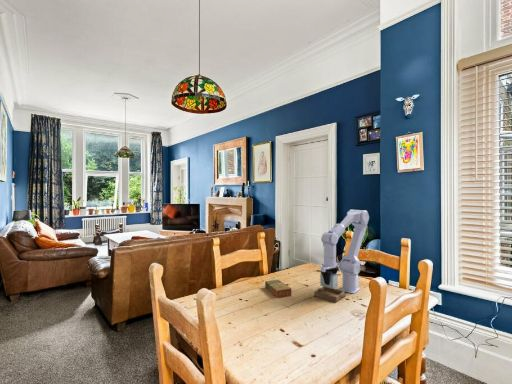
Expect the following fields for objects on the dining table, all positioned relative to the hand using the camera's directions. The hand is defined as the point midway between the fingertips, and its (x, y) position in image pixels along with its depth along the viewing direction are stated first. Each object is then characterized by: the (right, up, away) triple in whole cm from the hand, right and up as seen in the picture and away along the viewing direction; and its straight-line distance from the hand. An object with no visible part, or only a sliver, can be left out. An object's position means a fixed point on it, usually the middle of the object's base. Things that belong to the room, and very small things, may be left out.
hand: (329, 283), depth 139 cm
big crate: (0, -7, 0) cm, 7 cm away
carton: (-26, -8, +7) cm, 28 cm away
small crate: (0, -2, 0) cm, 2 cm away
